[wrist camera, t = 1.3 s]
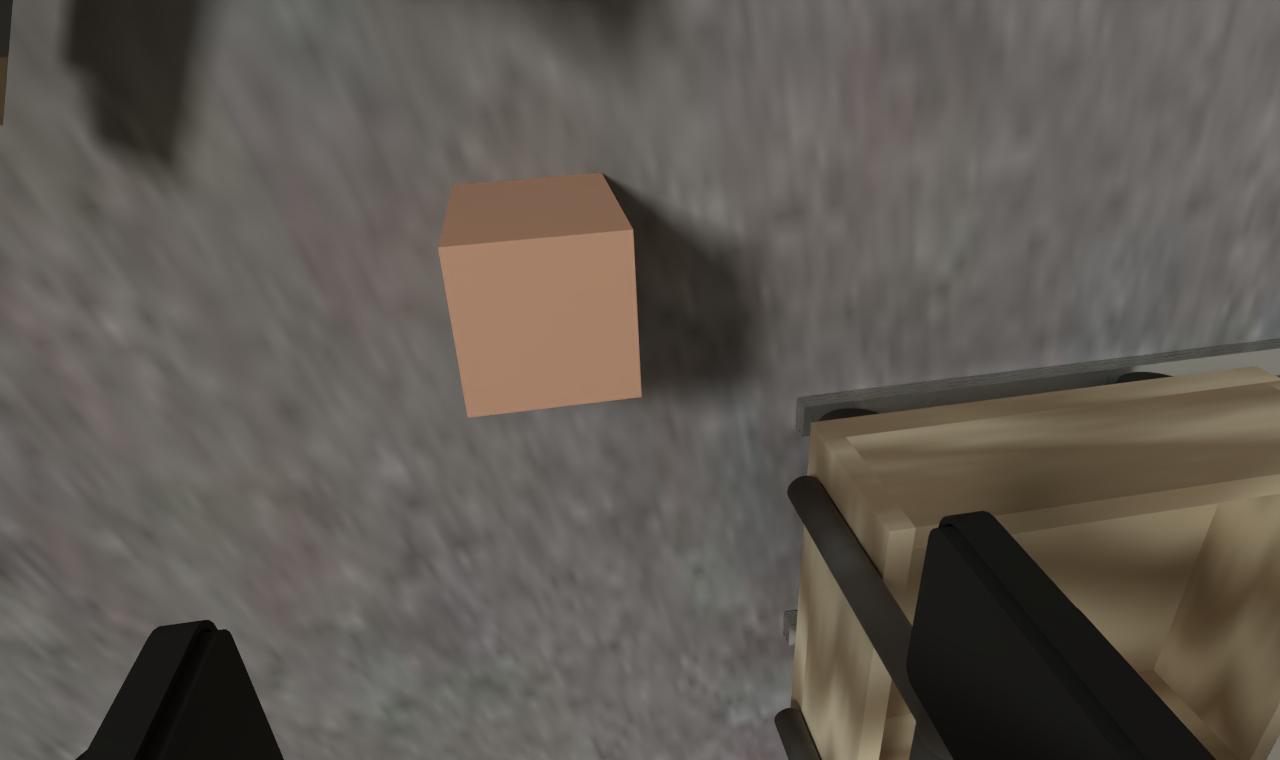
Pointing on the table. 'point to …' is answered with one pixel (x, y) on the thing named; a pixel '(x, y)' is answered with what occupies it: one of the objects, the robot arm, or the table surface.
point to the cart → (1050, 548)
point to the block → (541, 293)
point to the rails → (1030, 389)
